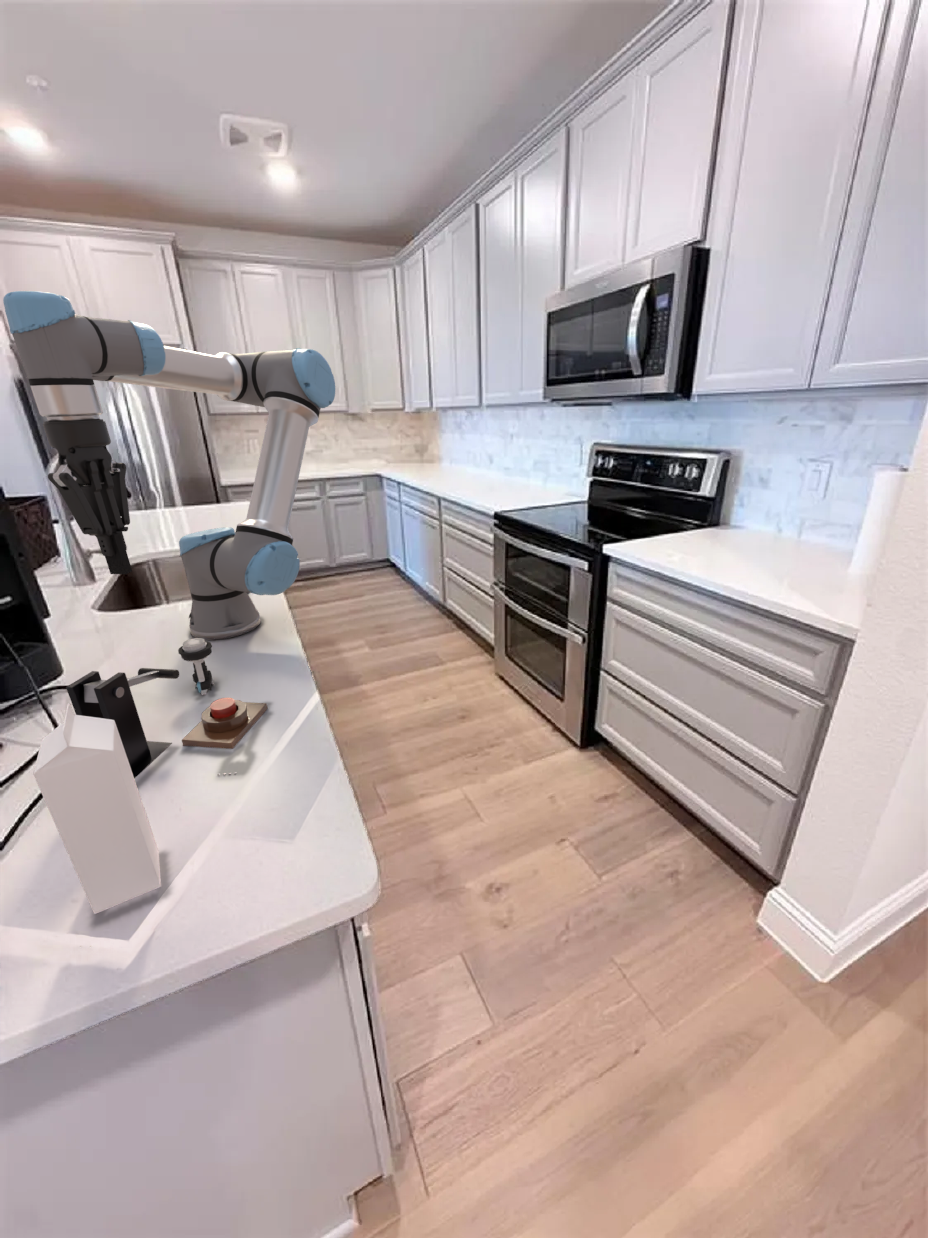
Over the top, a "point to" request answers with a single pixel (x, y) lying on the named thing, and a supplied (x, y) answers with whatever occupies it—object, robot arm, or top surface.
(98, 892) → the milk
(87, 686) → the switch lever
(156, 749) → the switch bracket
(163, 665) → the top surface
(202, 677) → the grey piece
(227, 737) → the button block
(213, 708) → the button
